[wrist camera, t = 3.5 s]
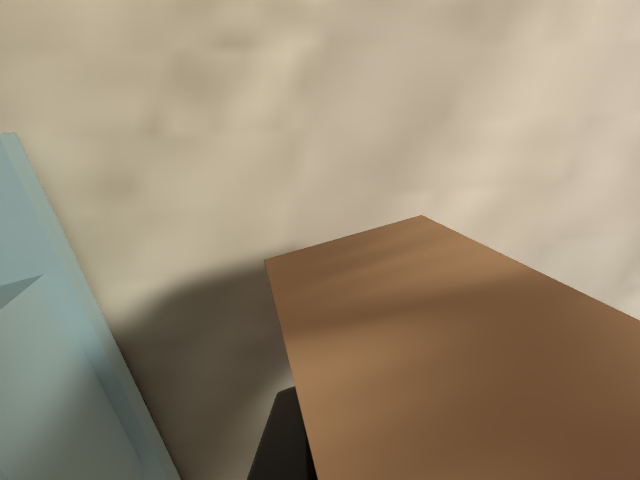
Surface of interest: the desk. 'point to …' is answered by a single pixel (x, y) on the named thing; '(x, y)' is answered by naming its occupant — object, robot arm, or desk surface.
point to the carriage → (60, 354)
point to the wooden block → (454, 362)
